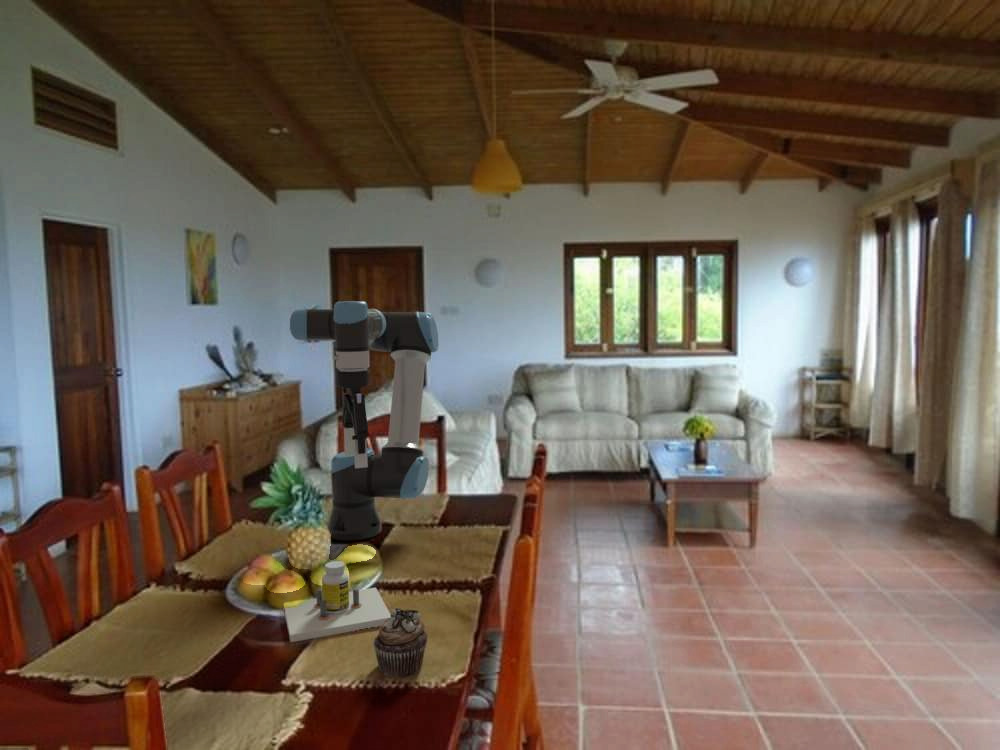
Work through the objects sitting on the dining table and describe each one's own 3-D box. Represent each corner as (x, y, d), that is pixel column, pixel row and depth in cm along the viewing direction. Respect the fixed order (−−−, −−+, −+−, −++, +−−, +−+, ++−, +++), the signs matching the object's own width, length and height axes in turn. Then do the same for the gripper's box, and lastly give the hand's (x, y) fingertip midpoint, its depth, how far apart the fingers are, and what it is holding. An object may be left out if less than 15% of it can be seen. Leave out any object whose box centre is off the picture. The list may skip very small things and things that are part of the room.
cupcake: (379, 652, 135) (378, 601, 134) (430, 653, 135) (429, 602, 133) (368, 680, 125) (367, 625, 124) (423, 680, 125) (422, 626, 124)
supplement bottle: (343, 616, 147) (341, 570, 146) (318, 614, 148) (316, 568, 147) (353, 604, 152) (352, 560, 151) (329, 602, 153) (328, 558, 152)
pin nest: (283, 608, 154) (282, 586, 153) (376, 593, 161) (375, 572, 161) (290, 642, 139) (289, 617, 139) (392, 624, 146) (391, 600, 146)
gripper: (328, 365, 173) (331, 451, 176) (345, 376, 150) (348, 475, 153) (359, 363, 176) (361, 448, 178) (380, 374, 153) (383, 471, 155)
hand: (355, 461), depth 165 cm, fingers open, 13 cm apart
